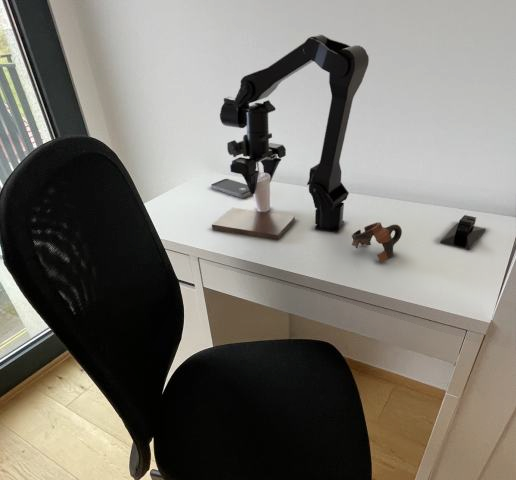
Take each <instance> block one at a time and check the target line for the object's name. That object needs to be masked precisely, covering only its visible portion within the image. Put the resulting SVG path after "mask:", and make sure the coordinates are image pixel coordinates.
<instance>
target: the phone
mask: <svg viewBox="0 0 516 480" xmlns="http://www.w3.org/2000/svg"><path fill="white" fill-rule="evenodd" d="M210 188H211V189H213V190H216V191H219V192H222V193H226V194H228V195H231V196H234V197H237V198H241V199H245V198H247V197H249V196H252V194H251V193H250V190H249V188H248V186H247V183H244V182H243V183H242V182H240V181H237V180H233V179H229V178H224V179H221V180H218V181H215V182H213V183H211V185H210Z"/></svg>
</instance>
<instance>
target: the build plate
mask: <svg viewBox="0 0 516 480" xmlns="http://www.w3.org/2000/svg"><path fill="white" fill-rule="evenodd" d="M476 221H477V217H476V216H475V217H474V216H470V215H466V214H464V215H462V216H461V218H460V219H459V220H458V222H456V223H455V224H454V225H453V227H452V228H450V230H449V231H448V232H447V233H446V234H445V235H444V236H443V238H441V239H440V240H439V243H440V244H443V245H447V246H451V247H455V248H458V249H463V250H466V251H470V250H471V249H472V248H473V246H474V245H475V244H476V242H477V241H478V240H479V239H480V237H481V236H482V235H483V234H484V233H485V232H486V228H484V227H479V226H475V225H476Z"/></svg>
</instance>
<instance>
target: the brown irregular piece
mask: <svg viewBox="0 0 516 480" xmlns="http://www.w3.org/2000/svg"><path fill="white" fill-rule="evenodd" d="M363 230H364V231H363V232H362V230H361V229H358V230H356V231H355V232H353V233H352V235H351V239H352V242H351V246H352V247H353V246H354V247H355V249H357V250H358V249H359V248H358V247H359V245H361V246H362V247H363V246H371V245H372V244H371V241H372V238H373V237H374V238H375V241H376V242H377V243H378V244H381V245H382V248H383V251H381V252H380V253H377V255H376V257H377V259H378V263H379V264H382V263H384V262H386V261H388V260H390V259H392V257H394V246H395V245H396V244H397V243H398V242H399V241H400V239H401V238H402V234H403V230H402V228H401V226H400V225H398V224H391V225H389V226H386V227H384V226H383V225H382V223H381V222H375V223H371V224H369V225H367V226H364V227H363ZM393 231H394V234H393V236H392V232H393Z"/></svg>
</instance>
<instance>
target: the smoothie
mask: <svg viewBox="0 0 516 480" xmlns="http://www.w3.org/2000/svg"><path fill="white" fill-rule="evenodd" d="M256 170H257V171H259V175H258V180H257V185H256V190H255V194H252V196H253V199H254V202H255V206H256V211H260V212H267V213H268V212H269V211H270V210H271V182H270V180H271V178H270V174H268V173H264V172H261V171H260V165H259V162H258V163H257V164H256ZM271 181H272V180H271Z"/></svg>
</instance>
